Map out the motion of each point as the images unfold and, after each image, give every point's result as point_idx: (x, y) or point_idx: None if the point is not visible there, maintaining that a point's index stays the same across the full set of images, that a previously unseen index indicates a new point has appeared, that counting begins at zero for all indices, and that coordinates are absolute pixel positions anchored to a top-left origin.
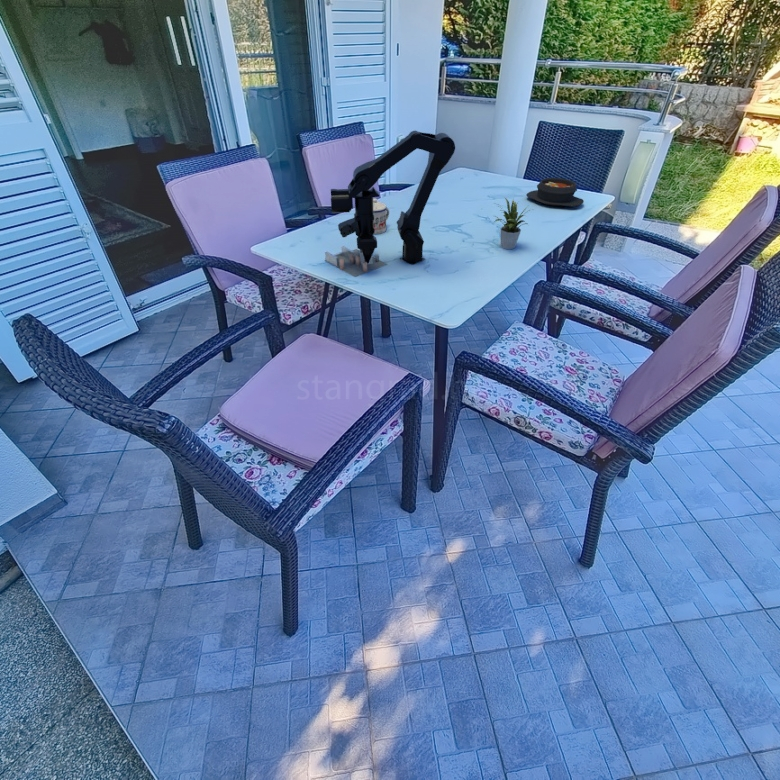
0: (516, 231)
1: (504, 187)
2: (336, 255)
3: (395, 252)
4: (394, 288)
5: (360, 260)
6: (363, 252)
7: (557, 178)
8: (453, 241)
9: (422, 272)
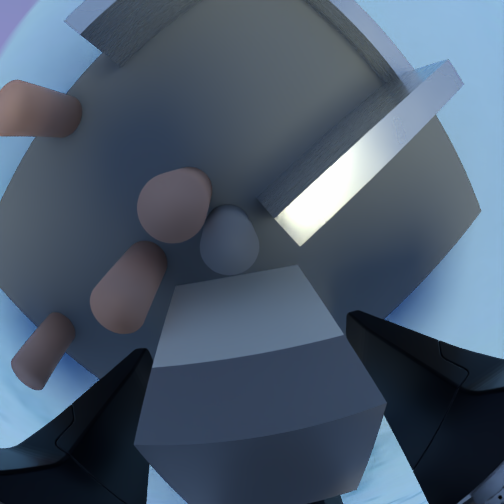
0: None
1: None
2: (341, 16)
3: (387, 425)
4: (8, 420)
5: (205, 293)
6: (48, 432)
7: None
8: (400, 493)
9: (169, 500)
